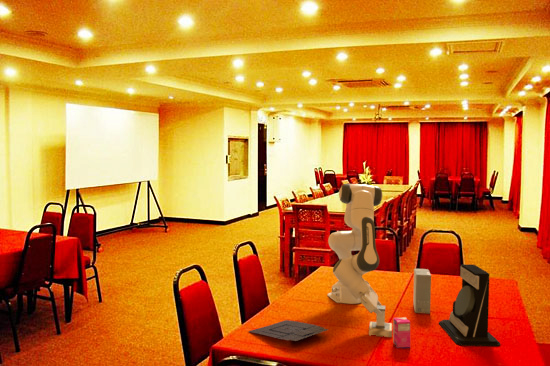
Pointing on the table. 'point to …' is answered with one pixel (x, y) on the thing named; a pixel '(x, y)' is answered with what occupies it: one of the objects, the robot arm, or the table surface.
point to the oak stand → (380, 330)
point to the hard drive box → (422, 291)
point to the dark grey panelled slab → (290, 330)
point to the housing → (381, 320)
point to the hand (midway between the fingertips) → (382, 312)
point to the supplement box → (401, 332)
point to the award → (471, 310)
